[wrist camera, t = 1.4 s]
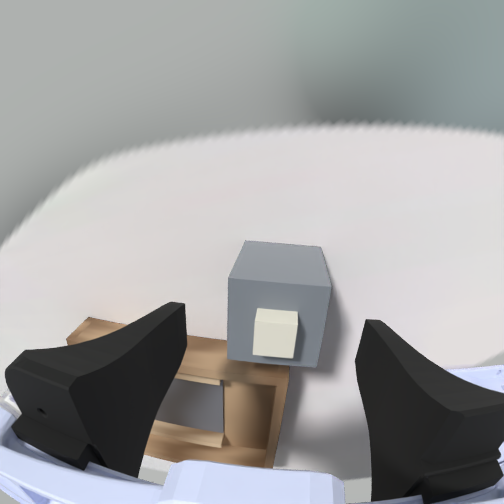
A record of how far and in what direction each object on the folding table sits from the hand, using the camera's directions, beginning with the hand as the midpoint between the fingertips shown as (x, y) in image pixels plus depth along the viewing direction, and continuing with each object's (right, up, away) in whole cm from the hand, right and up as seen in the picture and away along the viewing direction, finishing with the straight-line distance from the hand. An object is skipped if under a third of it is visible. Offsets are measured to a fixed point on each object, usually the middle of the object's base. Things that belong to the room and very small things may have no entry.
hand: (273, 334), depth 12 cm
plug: (+1, +2, +5) cm, 6 cm away
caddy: (-6, -7, +9) cm, 13 cm away
